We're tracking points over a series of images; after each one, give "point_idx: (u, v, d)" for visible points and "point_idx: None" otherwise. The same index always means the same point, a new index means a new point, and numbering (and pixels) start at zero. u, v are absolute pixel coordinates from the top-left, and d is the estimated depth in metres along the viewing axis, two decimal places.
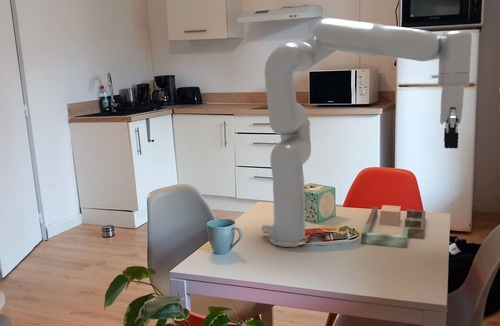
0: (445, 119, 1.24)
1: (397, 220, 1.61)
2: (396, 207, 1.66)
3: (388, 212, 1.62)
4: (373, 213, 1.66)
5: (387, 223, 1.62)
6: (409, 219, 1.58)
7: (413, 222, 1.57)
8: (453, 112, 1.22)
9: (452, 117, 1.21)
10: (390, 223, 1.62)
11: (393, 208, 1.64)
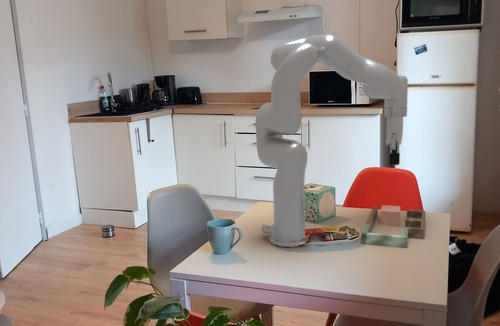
0: (388, 142, 1.66)
1: (398, 220, 1.61)
2: (395, 207, 1.66)
3: (389, 212, 1.61)
4: (373, 213, 1.66)
5: (388, 223, 1.62)
6: (409, 219, 1.58)
7: (413, 222, 1.57)
8: (394, 142, 1.65)
9: (393, 148, 1.65)
10: (391, 223, 1.62)
11: (393, 208, 1.64)
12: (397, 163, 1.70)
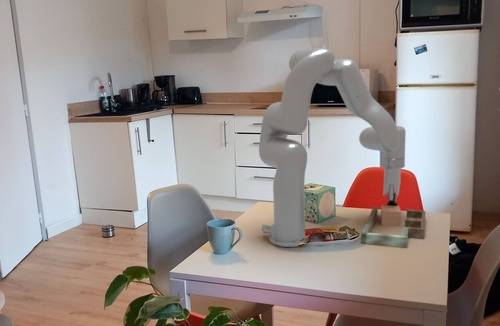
0: (386, 193, 1.65)
1: (399, 220, 1.61)
2: (395, 207, 1.66)
3: (390, 212, 1.61)
4: (373, 213, 1.66)
5: (389, 223, 1.62)
6: (409, 219, 1.58)
7: (413, 222, 1.57)
8: (391, 193, 1.64)
9: (390, 199, 1.65)
10: (392, 223, 1.62)
11: (393, 208, 1.64)
12: None
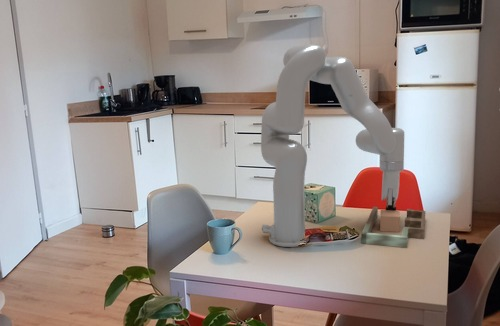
0: (384, 197, 1.59)
1: (398, 225, 1.55)
2: (395, 212, 1.60)
3: (388, 217, 1.56)
4: (373, 213, 1.66)
5: (387, 229, 1.56)
6: (409, 219, 1.58)
7: (413, 222, 1.57)
8: (390, 198, 1.59)
9: (389, 204, 1.59)
10: (390, 228, 1.56)
11: (392, 213, 1.59)
12: None
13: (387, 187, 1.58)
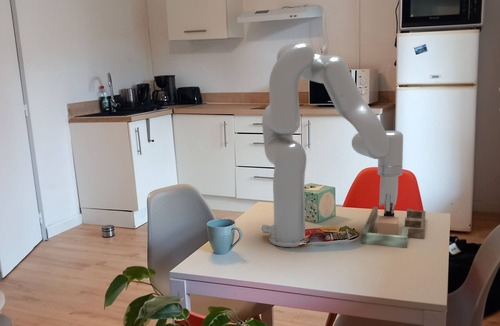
0: (382, 203, 1.53)
1: (395, 232, 1.49)
2: (393, 218, 1.53)
3: (385, 224, 1.49)
4: (373, 213, 1.66)
5: None
6: (409, 219, 1.58)
7: (413, 222, 1.57)
8: (388, 203, 1.52)
9: (387, 210, 1.52)
10: None
11: (390, 219, 1.52)
12: None
13: (385, 192, 1.52)
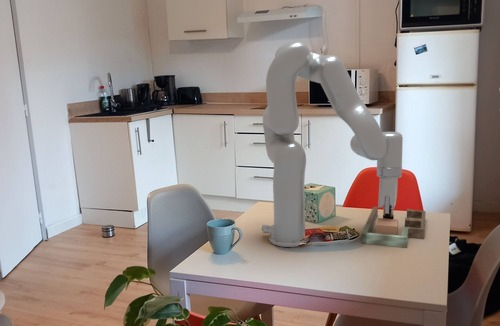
0: (381, 205, 1.50)
1: None
2: (393, 220, 1.51)
3: (385, 226, 1.47)
4: (373, 213, 1.66)
5: None
6: (409, 219, 1.58)
7: (413, 222, 1.57)
8: (387, 206, 1.50)
9: (386, 212, 1.50)
10: None
11: (390, 222, 1.50)
12: None
13: (384, 194, 1.50)
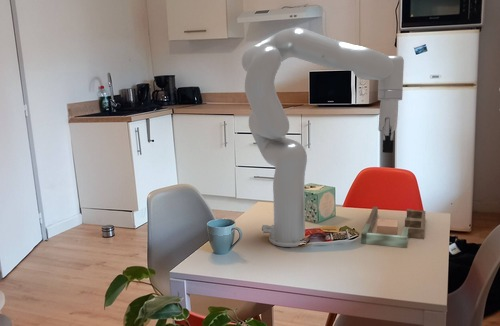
0: (381, 127, 1.53)
1: None
2: (393, 221, 1.51)
3: (385, 227, 1.47)
4: (373, 213, 1.66)
5: None
6: (409, 219, 1.58)
7: (413, 222, 1.57)
8: (387, 127, 1.52)
9: (386, 134, 1.52)
10: None
11: (390, 222, 1.50)
12: (390, 151, 1.57)
13: (384, 116, 1.52)
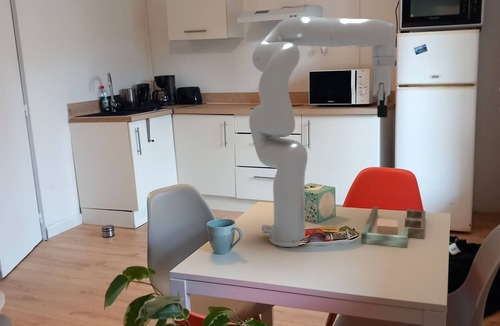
0: (376, 92, 1.60)
1: None
2: (392, 221, 1.51)
3: (385, 227, 1.47)
4: (373, 213, 1.66)
5: None
6: (409, 219, 1.58)
7: (413, 222, 1.57)
8: (381, 92, 1.60)
9: (380, 99, 1.60)
10: None
11: (390, 222, 1.50)
12: (385, 116, 1.65)
13: (378, 81, 1.59)
